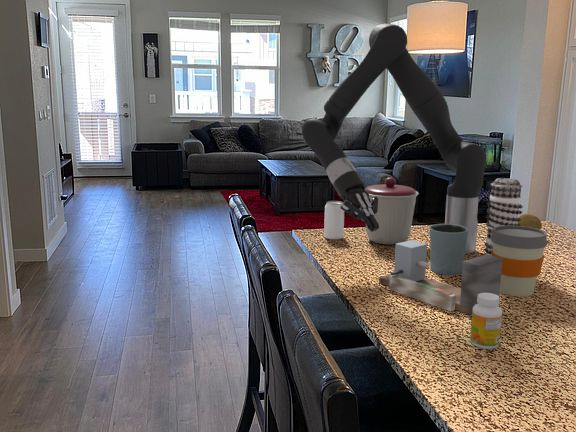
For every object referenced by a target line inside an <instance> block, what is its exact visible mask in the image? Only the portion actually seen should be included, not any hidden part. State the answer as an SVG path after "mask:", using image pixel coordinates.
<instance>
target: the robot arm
mask: <svg viewBox="0 0 576 432" xmlns="http://www.w3.org/2000/svg"><path fill="white" fill-rule="evenodd" d="M368 44H369V48H370V49H369V50H368V52H367V54H366V55H365V56H364V58H363V60H362V61H361V62H360V63H359V65H358V66H357V67H356V68H355V69H354V70H353V71H352V72H351V73H350V74H349V75H348V76H347V77H346V78H344V80H342V82H340V84H339V85H338V86H337V88H336V89H334V91H333V93H332V94H331V95H330V96H329V98H328V99H327V101H326V102H325V103H324V105H323V110H324V112H325V114H324V116H323V118H322V120H321V119H318V118H315V117H314V118H309V119H306V121H305V122H303V124H302V127H301V135H302V137H303V140H304V142H305V143H306V145H307V146H308V147H309V148H310V150H312V152H313V153H314V155H315V156H316V157H317V158H318V160H319V161H320V163H321V165H322V167H323V169H324V170H325V172H326V174H327V176H328V179H329V181H330V183H331V184H332V186H333V188H334V189H335V191H336V193H337V194H338V196H339V198H340V199H341V200H342V202H343V204H342V206H341V207H340V208H341V209H342V210H344V213H346V214H348V215H349V216H351V217H352V218H353V219H355V220H357V221H358V220H359V221H360V220H361V221H362V222H364V224H365V226H366V225H367V227H368V229H369V230H370V231H371V232H373V231H376V230H377V229H378V228H379V224H378V223H377V221H376V219H375V217H374V215H375V214H376V213H377V212H378V198H377V197H374V198H372V197H370V196H369V194H368V193H367V192H366V191H365V182H364V181H363V179H362V178H361V176H360V174H359V173H358V171H357V169H356V168H355V166H354V164H353V163H352V162H351V161H350V160H349V158H348V156H347V154H346V153H345V152H344V150H343V149H342V147H341V146H340V145H339V144H338V143H337V142H335V141H334V140H335V139H336V138H337V135H338V133H339V131H340V129H341V127H342V126H343V123H344V120H345V119H346V118H347V116H348V115H349V114H350V112H351V111H352V110H353V109H354V107H355V106H356V105H357V103H358V102H359V101H360V99H361V98H362V96H364V94H365V93H366V92H367V90H368V89H369V88H370V87H371V86H372V84H374V82H375V81H376V80H377V79H378V78H379V76H381V74H382V73H384V71H385V70H387V71H388V72H389V74H390V75H391V76H392V78H393V80H394V81H395V83H396V85H397V87H398V89H399V90H400V93H401V94H402V96H403V98H404V99H405V101H406V102H407V104H408V105H409V108H410V109H411V110H412V112H413V113H414V115H415V116H416V117H417V119H418V120H419V122H420V123H421V125H422V126H423V128H424V130H426V131H427V134H428V135H429V136H430V138H431V139H432V140H433V142H434V144H435V145H436V147H437V150H438V151H439V154H440V155H441V157H442V159H443V161H444V163H445V165H446V166H447V167H448V169H450V170H452V171H454V172H455V178H454V181H453V182H452V183H451V184H449V185H448V186H447V189H446V190H447V191H446V201H445V219H444V224H455V225H460V226H464V227H466V228H468V229H469V231H468V237H467V242H466V249H465V255H469V254H473V253H474V252H475V250H477V235H478V226H479V225H478V223H479V221H478V207H479V196H480V195H479V194H480V191H481V188H482V186H483V183H484V175H485V168H486V154H485V150H484V149H483V147H482V146H481V145H480V144H477V143H473V142H467V141H465V140H463V138H462V137H461V136H460V135H459V133H458V131H456V129H455V128H454V126H453V124H452V121H451V115H450V109H449V106H448V103H447V101H446V98H445V97H444V96H443V94H442V92H441V90H440V89H439V87H438V86H437V85H436V83H435V82H434V81H433V80H432V78H431V77H430V76H429V75H428V74H427V73H426V72H425V71H424V70H423V69H422V68H421V67H420V66H419V65H418V64H417V63H416V62H415V60H414V59H413V58H412V56H411V54H410V52H409V50H408V48H407V45H408V35H407V33H406V31H405V29H404V28H403V27H401V26H399V25H397V24H394V23H381V24H380V23H379V24H378V25H376V26H374V28H372V30H371V31H370V34H369V37H368Z"/></svg>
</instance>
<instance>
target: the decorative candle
mask: <svg viewBox="0 0 576 432" xmlns="http://www.w3.org/2000/svg"><path fill="white" fill-rule="evenodd" d="M490 185H491V188H490V195H489V198H487V202H486V206H487V207H488V208H487V209H486V213H487V214H486V215H485V218H486V219H487V221H486V224H485V225H486V228H487V235H486V238H485V239H486V240H485V243H484V246H485V247H484V249H483V250H484V252H485V253H484V254H483V255H486V254H487V255H491V251H492V250H493V244H492V241H491V237H492V232H493V228H495V227H497V226H520V224H519V223H518V222H519V221H521V219H520V218H519V217H520V216H519V215H523V211H522V210H521V209H523V207H524V206H523V205H522V204H521V202H522V196H521V194H522V187H523V185H522V184H521V182H520V181H519V180H518V179H515V178H509V177H508V178H506V177H499V178H496V179H495V180H494V181H493V182H492V183H490Z"/></svg>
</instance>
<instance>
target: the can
mask: <svg viewBox="0 0 576 432" xmlns="http://www.w3.org/2000/svg"><path fill="white" fill-rule="evenodd" d="M343 203H344V201H340V200H328V201H326V204H325V206H324V224H323V225H324V229H323V232H324V233H323V237H324V238H325V239H327V240H332V241H333V240H334V241H335V240H336V241H337V240H338V241H339V240H341V239H342V240H343V238H344V228H345V227H344V225H345V211H344V210H342V209H341V208H340V207H341V206H342V204H343Z"/></svg>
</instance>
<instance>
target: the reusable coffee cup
mask: <svg viewBox="0 0 576 432" xmlns="http://www.w3.org/2000/svg"><path fill="white" fill-rule="evenodd" d="M547 237H548V236H547V232H546V231H544V230H542V229H540V230H539V229H536V228H531V227H524V226H497V227H495V228H493V232H492V237H491V241H492V244H493V250H492V251H491V256H495V257H499V258H503V259H502V270H501V281H500V292H499V294H503V295H506V296H512V297H529V296H532V295H534V291H535V287H536V284H537V279H538V276H540V275H541V272H542V271H541V270H542V266H543V263H544V260H545V255H544V251H545V248H546V247H547V244H548V242H547V239H548V238H547Z"/></svg>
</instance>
